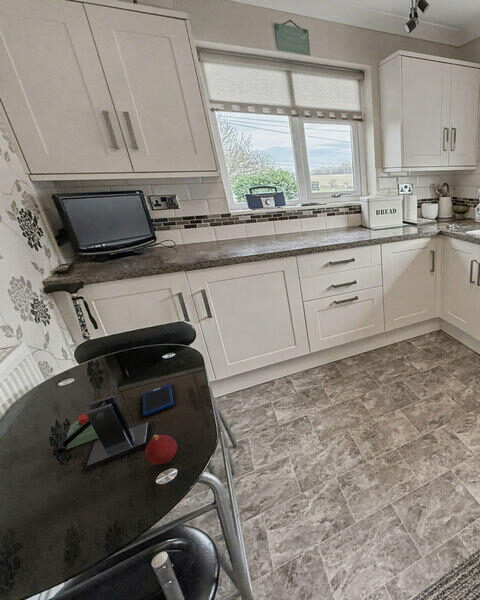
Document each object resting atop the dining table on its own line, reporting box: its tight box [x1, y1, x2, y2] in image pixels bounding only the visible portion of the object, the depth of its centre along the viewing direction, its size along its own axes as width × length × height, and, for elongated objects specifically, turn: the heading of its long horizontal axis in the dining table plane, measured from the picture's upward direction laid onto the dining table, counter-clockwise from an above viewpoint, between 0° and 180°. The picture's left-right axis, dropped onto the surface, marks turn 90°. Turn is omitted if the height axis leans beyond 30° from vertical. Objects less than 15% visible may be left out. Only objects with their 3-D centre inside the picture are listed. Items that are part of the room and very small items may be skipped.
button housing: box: [66, 419, 99, 450], centre depth 87 cm, size 10×8×4 cm
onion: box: [144, 434, 178, 466], centre depth 73 cm, size 6×6×8 cm
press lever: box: [55, 401, 114, 455], centre depth 76 cm, size 12×5×2 cm
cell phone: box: [142, 383, 175, 417], centre depth 98 cm, size 7×14×1 cm, turn 38°
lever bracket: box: [85, 395, 150, 470], centre depth 79 cm, size 11×9×13 cm
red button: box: [77, 412, 88, 425], centre depth 86 cm, size 4×4×2 cm
